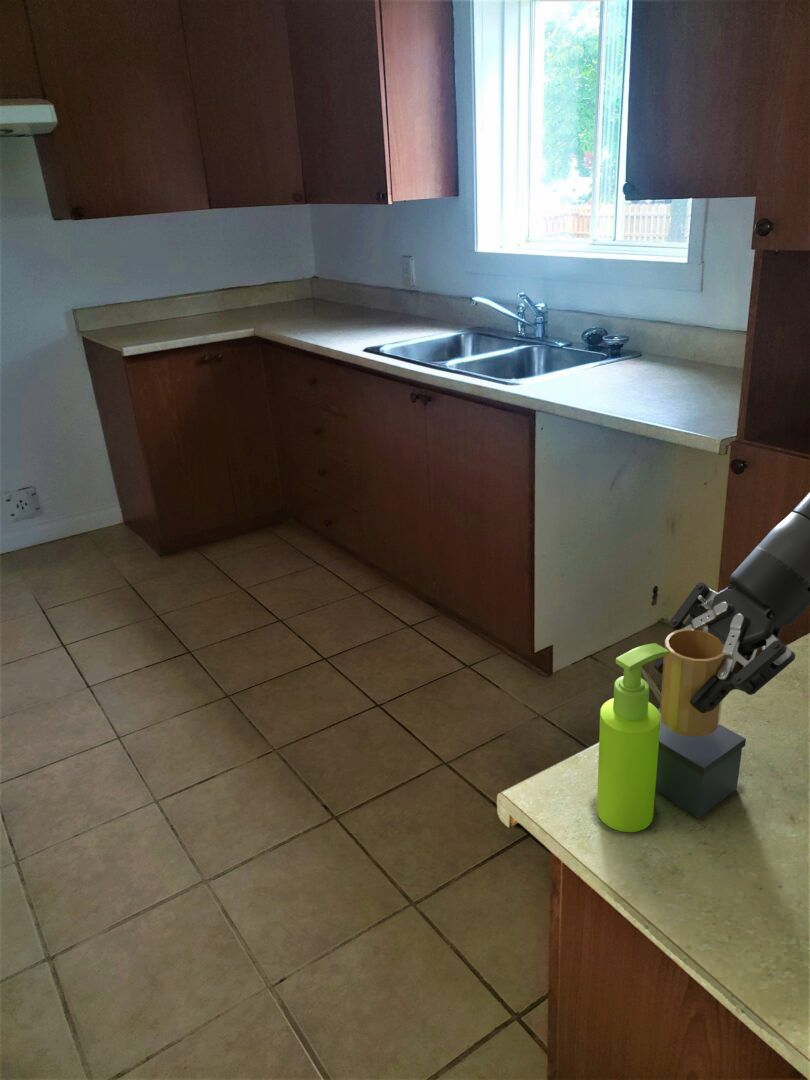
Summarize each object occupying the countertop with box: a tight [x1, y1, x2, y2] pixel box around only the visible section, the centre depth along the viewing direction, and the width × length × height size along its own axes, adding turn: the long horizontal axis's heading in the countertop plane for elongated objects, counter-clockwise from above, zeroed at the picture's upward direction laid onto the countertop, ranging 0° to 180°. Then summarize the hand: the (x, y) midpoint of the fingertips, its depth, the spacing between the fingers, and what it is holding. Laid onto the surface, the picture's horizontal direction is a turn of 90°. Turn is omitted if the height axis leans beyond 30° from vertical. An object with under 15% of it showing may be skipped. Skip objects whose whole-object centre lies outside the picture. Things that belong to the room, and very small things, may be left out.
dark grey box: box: [655, 708, 747, 819], centre depth 90 cm, size 9×7×7 cm
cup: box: [659, 629, 724, 737], centre depth 85 cm, size 6×6×10 cm
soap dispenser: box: [596, 642, 670, 833], centre depth 84 cm, size 6×7×20 cm
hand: (678, 689), depth 85 cm, fingers closed on cup, 6 cm apart
